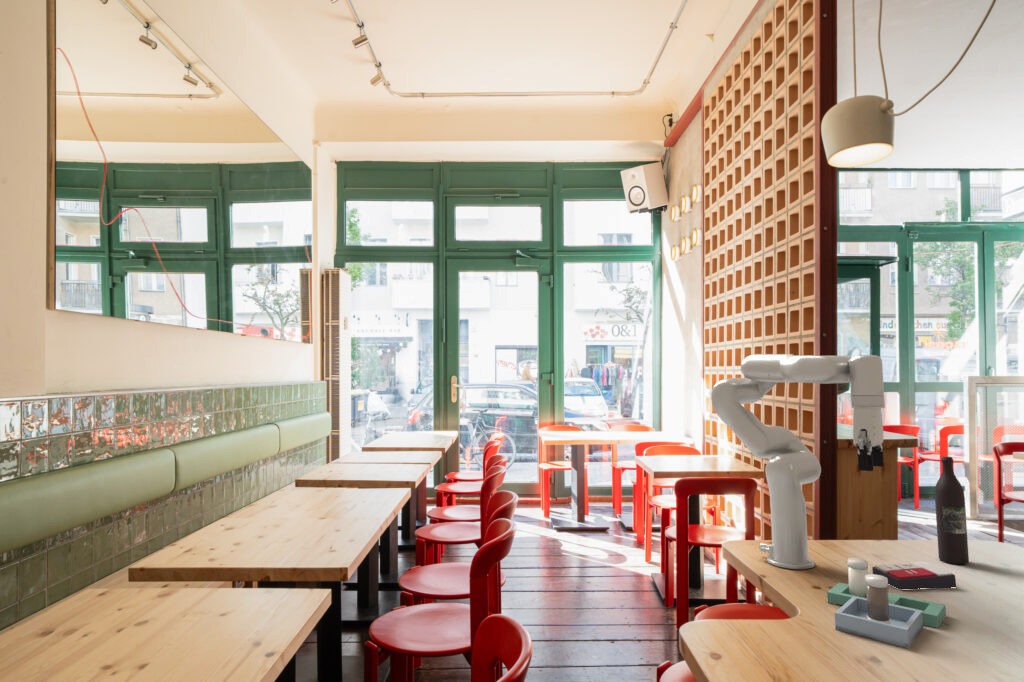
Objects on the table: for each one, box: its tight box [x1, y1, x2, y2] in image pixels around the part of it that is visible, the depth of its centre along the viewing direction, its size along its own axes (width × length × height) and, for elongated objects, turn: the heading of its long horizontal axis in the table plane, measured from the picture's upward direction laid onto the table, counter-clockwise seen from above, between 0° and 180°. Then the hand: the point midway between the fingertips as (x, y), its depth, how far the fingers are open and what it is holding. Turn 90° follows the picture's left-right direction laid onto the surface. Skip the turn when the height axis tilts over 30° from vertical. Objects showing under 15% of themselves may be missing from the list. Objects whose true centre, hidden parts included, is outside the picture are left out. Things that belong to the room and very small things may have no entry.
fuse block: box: [826, 582, 947, 629], centre depth 140 cm, size 22×9×2 cm, turn 45°
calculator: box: [871, 561, 957, 590], centre depth 158 cm, size 11×4×15 cm
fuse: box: [847, 557, 869, 598], centre depth 144 cm, size 4×4×10 cm
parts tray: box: [834, 596, 924, 649], centre depth 130 cm, size 13×13×4 cm
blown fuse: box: [865, 573, 890, 624], centre depth 130 cm, size 4×4×10 cm
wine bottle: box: [934, 456, 970, 566], centre depth 175 cm, size 7×7×30 cm
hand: (871, 468), depth 156 cm, fingers open, 9 cm apart
